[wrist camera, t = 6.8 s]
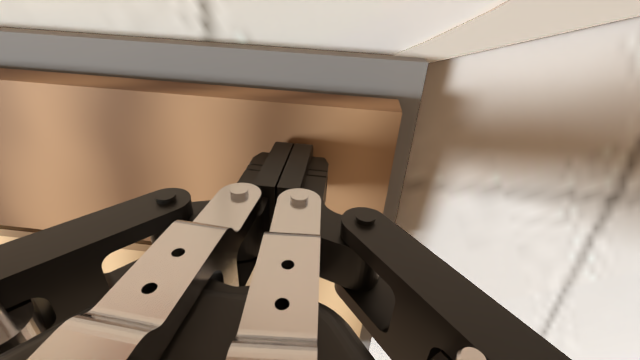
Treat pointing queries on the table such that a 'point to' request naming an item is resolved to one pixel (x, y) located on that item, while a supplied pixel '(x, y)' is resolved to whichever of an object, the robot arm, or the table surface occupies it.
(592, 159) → the table surface
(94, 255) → the robot arm
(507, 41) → the corner molding
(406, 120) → the board
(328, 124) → the walnut plank
